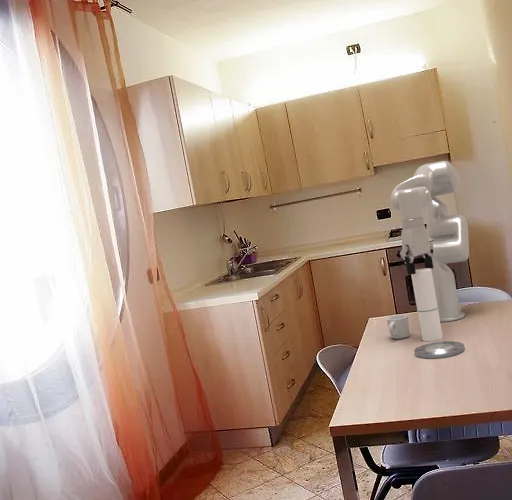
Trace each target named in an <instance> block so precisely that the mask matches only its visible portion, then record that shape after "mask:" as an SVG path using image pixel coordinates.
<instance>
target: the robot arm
mask: <svg viewBox="0 0 512 500" xmlns="http://www.w3.org/2000/svg"><path fill="white" fill-rule="evenodd" d="M461 186H462V181H461V178H460V175H459V174H458V171H456V169H455V168H454V166H453V164H451V163H450V162H449V161H447V160H441V161H435V162H431V163H425V164H423V165H421V166H419V167H418V168H417V169H416V171H415V172H414V174H413V176H411V177H409V178H408V179H406V180H405V181H403V182H401V183H399V184H398V185H396V186H395V187H394V188H393V189H392V192H391V193H390V204H391V207H392V209H393V210H395V211H396V212H399V213H400V218H401V226H402V229H401V235H400V236H401V248H402V249H401V251H399V255H400V257H401V258H402V261H404V264H405V265H406V271H407V275H411V274H416V271H415V270H416V266H415V262H414V259H415V257H419V256H423V263H424V268H431V271H432V277H433V282H434V288H435V294H436V300H437V306H438V312H439V318H440V323H442V322H445V323H446V322H452V321H457V320H461V319H464V317H465V313H464V312H462V310H464V309H465V308H466V307H467V306H466V304H465V303H463V302H462V303H461V304H460V303H459V299H458V298H459V297H458V291H457V287H456V286H457V285H456V279H455V274H454V272H453V270H452V269H451V268H450V267H449V266H448V264H451V263H452V264H453V263H461V262H465V261H467V260H468V258H469V257H470V251H469V250H470V244H469V242H470V241H469V226H468V222H467V218H466V217H465V216H464V215H462V214H460V213H459V214H458V213H457V214H449V208H448V206H447V204H446V203H444V202H443V201H442V200H441V199H439V198H438V196H444V195H450V194H456V193H458V192H459V191H460V189H461V188H462V187H461ZM423 208H425V211H426V226H425V222H424V215H423ZM430 240H431V241H430Z"/></svg>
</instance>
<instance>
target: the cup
mask: <svg viewBox="0 0 512 500" xmlns="http://www.w3.org/2000/svg"><path fill="white" fill-rule="evenodd" d="M386 323H387V326H388V329H389V334H390V336H391V338H392V339H395V340H401V339H406V338H408V337H409V335H410V328H409V326H410V324H409V316H408V314H405V313H403V314H402V313H401V314H393V315H390V316H387V317H386Z"/></svg>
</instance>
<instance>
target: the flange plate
mask: <svg viewBox="0 0 512 500" xmlns="http://www.w3.org/2000/svg"><path fill="white" fill-rule="evenodd" d="M465 349H466V348H465V344H464V343H463V342H459V341H450V340H445V341H444V340H443V341H433V342H429V343H424V344H422V345H419V346H418V347H416V348H415V349H414V351H413V352H414V356H415V357H416V358H419V359H425V360H434V359H435V360H436V359H437V360H439V359H446V358H450V357H455V356H458V355H460V354H462V353H464V352H465V351H466V350H465Z"/></svg>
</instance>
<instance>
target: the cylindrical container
mask: <svg viewBox="0 0 512 500" xmlns="http://www.w3.org/2000/svg"><path fill="white" fill-rule="evenodd" d="M415 271H416V274H410V275H411V280H412V281H411V282H412V287H413V293H414V299H415V305H416V310H417V317H418V321H419V322H418V323H419V329H420V334H421V341H423V342H437V341H439V340H442V339H443V338H444V337H443V331H442V325H441V322H440V318H439V312H438V306H437V300H436V294H435V288H434V282H433V277H432V271H431V268H425V267H424V268H418V269H417V268H416V269H415Z"/></svg>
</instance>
